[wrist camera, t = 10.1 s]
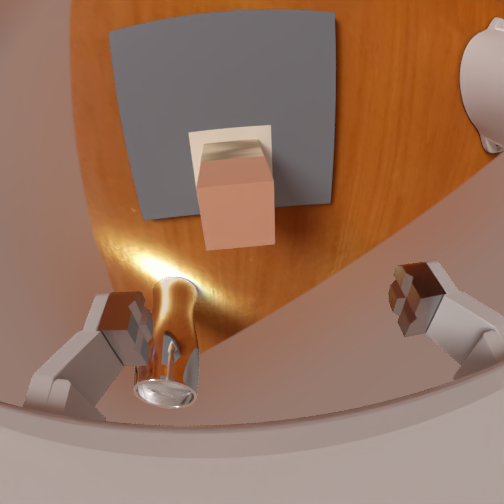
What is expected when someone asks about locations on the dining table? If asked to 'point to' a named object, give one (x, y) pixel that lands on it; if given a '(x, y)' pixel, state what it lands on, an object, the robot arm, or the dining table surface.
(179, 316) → the beer glass
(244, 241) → the terracotta block
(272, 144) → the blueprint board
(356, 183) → the dining table surface
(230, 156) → the maple block
